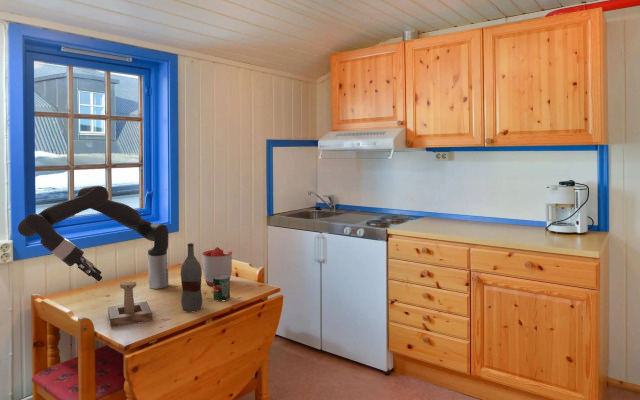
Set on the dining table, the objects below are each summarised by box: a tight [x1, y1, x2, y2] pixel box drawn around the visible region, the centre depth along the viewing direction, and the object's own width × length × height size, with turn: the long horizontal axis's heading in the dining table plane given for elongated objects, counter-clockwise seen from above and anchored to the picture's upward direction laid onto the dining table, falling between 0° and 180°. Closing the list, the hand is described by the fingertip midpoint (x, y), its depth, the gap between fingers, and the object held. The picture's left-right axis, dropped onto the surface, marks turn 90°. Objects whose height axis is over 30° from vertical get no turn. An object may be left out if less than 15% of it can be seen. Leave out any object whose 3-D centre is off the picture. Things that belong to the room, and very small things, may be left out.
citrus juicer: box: [201, 246, 233, 287], centre depth 248 cm, size 16×17×20 cm
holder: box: [107, 301, 153, 328], centre depth 198 cm, size 16×16×4 cm
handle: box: [119, 281, 137, 314], centre depth 197 cm, size 5×6×15 cm
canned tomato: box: [212, 274, 231, 302], centre depth 223 cm, size 8×8×11 cm
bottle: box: [180, 242, 203, 313], centre depth 208 cm, size 9×9×30 cm
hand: (100, 276), depth 191 cm, fingers open, 8 cm apart
